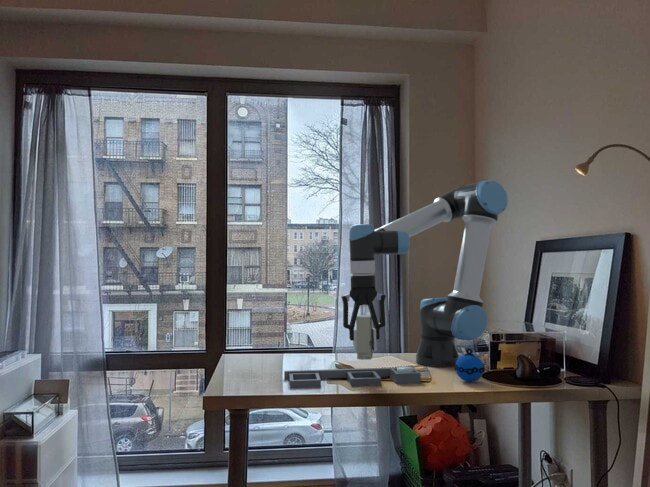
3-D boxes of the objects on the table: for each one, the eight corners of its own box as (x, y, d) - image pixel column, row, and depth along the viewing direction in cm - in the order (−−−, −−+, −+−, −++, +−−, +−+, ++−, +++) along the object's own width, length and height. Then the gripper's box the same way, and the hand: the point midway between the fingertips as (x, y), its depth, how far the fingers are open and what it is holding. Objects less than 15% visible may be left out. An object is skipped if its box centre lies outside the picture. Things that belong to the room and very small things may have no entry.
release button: (410, 374, 152) (410, 366, 153) (415, 378, 147) (415, 369, 148) (395, 374, 152) (395, 366, 152) (399, 378, 147) (399, 370, 147)
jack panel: (403, 375, 156) (403, 367, 156) (412, 383, 145) (412, 375, 145) (284, 378, 152) (284, 370, 152) (284, 388, 142) (284, 379, 142)
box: (371, 360, 146) (370, 317, 146) (356, 359, 147) (355, 317, 147) (372, 356, 151) (372, 314, 151) (358, 356, 152) (358, 314, 152)
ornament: (455, 384, 145) (454, 350, 145) (455, 377, 153) (454, 345, 153) (485, 386, 142) (484, 352, 143) (483, 379, 151) (483, 346, 151)
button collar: (413, 376, 154) (413, 367, 154) (420, 383, 146) (420, 373, 146) (390, 377, 153) (390, 367, 153) (396, 383, 146) (395, 373, 146)
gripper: (389, 273, 154) (391, 346, 153) (331, 275, 152) (333, 349, 152) (394, 274, 146) (397, 351, 146) (334, 276, 145) (336, 354, 144)
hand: (364, 350), depth 149 cm, fingers closed on box, 5 cm apart
